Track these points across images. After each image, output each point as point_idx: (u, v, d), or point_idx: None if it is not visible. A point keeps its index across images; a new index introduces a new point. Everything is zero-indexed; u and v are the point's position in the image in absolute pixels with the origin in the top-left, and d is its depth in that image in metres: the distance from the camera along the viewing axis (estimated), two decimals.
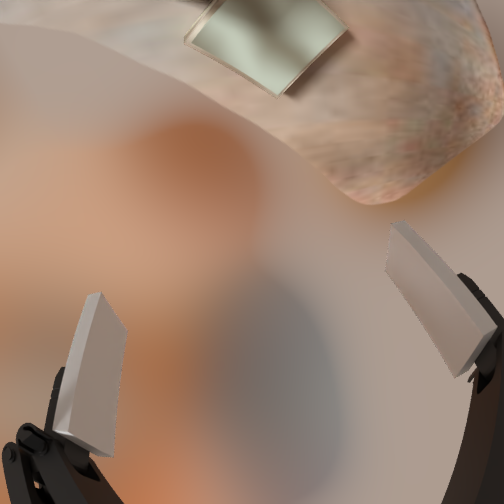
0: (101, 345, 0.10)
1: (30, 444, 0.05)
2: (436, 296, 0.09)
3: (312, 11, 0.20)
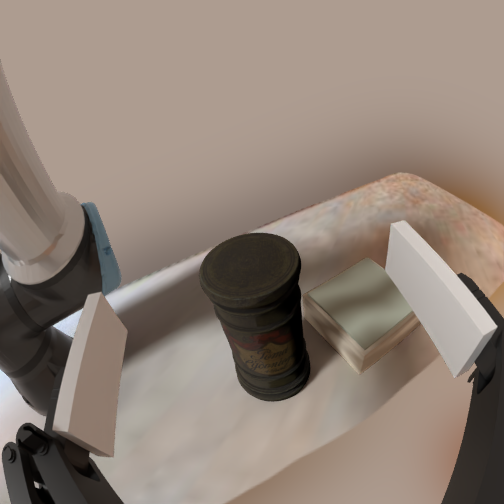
0: (101, 345, 0.10)
1: (30, 444, 0.05)
2: (436, 296, 0.09)
3: (353, 273, 0.38)
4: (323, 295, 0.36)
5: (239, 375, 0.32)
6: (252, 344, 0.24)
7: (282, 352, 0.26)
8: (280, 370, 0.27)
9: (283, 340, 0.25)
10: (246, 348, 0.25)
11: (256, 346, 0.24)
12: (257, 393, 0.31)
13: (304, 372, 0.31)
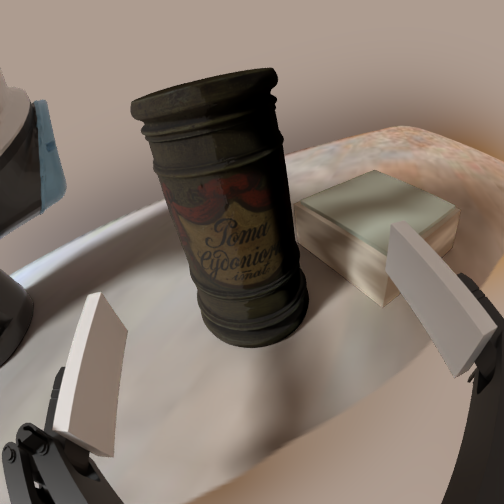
0: (101, 345, 0.10)
1: (30, 444, 0.05)
2: (436, 296, 0.09)
3: (359, 182, 0.29)
4: (321, 201, 0.27)
5: (201, 304, 0.22)
6: (204, 207, 0.15)
7: (258, 232, 0.16)
8: (258, 278, 0.18)
9: (257, 202, 0.15)
10: (196, 220, 0.15)
11: (211, 211, 0.15)
12: (227, 333, 0.21)
13: (299, 297, 0.21)
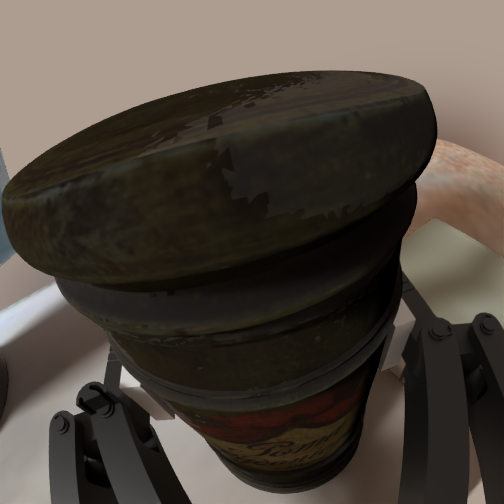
0: None
1: (93, 405, 0.07)
2: None
3: (424, 241, 0.20)
4: None
5: None
6: (227, 432, 0.06)
7: (328, 437, 0.07)
8: (311, 463, 0.09)
9: (340, 412, 0.06)
10: (210, 435, 0.06)
11: (243, 437, 0.06)
12: None
13: (355, 440, 0.12)
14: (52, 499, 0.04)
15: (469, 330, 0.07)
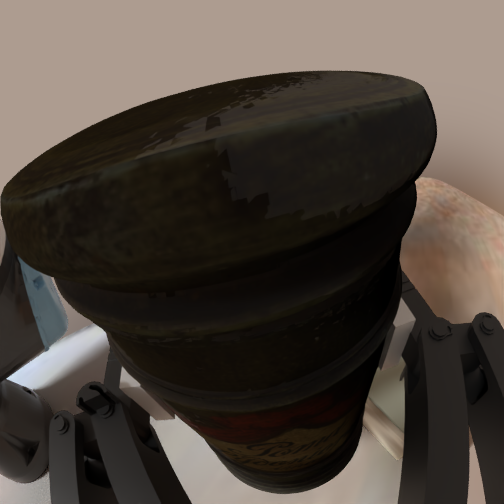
0: None
1: (93, 405, 0.07)
2: None
3: None
4: None
5: None
6: (227, 432, 0.06)
7: (327, 437, 0.07)
8: (311, 463, 0.09)
9: (339, 413, 0.06)
10: (210, 435, 0.06)
11: (242, 437, 0.06)
12: None
13: (355, 441, 0.12)
14: (52, 499, 0.04)
15: (469, 330, 0.07)
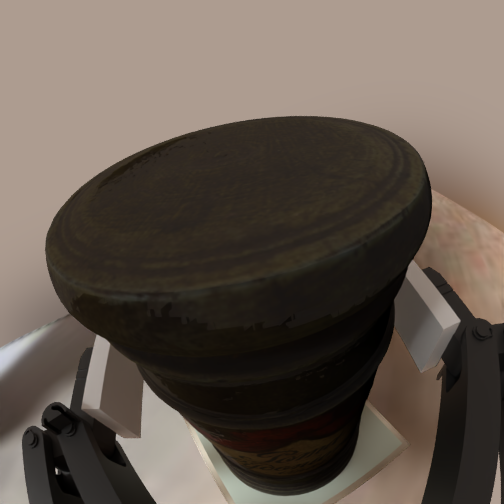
0: None
1: (57, 424, 0.06)
2: (400, 290, 0.10)
3: None
4: None
5: None
6: (242, 443, 0.07)
7: (327, 445, 0.08)
8: (311, 468, 0.10)
9: (337, 426, 0.07)
10: (225, 445, 0.07)
11: (255, 447, 0.07)
12: None
13: (352, 447, 0.13)
14: None
15: None
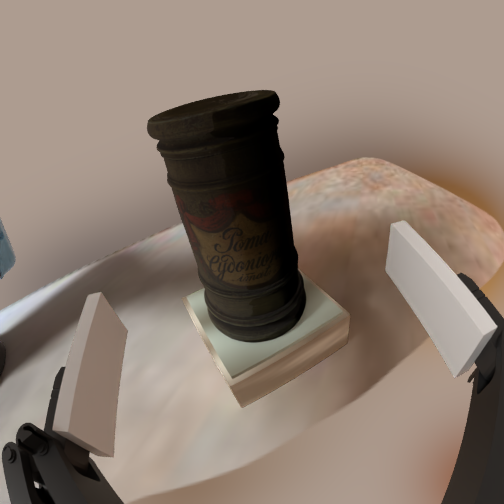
0: (101, 345, 0.10)
1: (30, 444, 0.05)
2: (436, 296, 0.09)
3: None
4: (202, 300, 0.29)
5: (208, 303, 0.24)
6: (214, 217, 0.17)
7: (261, 239, 0.18)
8: (260, 279, 0.20)
9: (260, 213, 0.17)
10: (207, 228, 0.18)
11: (220, 221, 0.17)
12: (232, 329, 0.23)
13: (297, 297, 0.23)
14: None
15: None
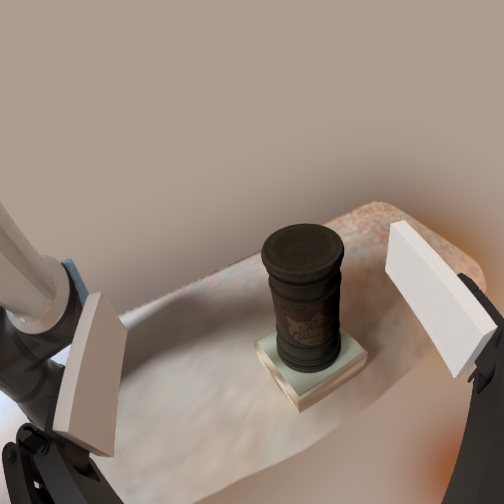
0: (101, 345, 0.10)
1: (30, 444, 0.05)
2: (436, 296, 0.09)
3: None
4: (270, 344, 0.41)
5: (281, 350, 0.37)
6: (303, 315, 0.30)
7: (326, 323, 0.31)
8: (321, 341, 0.32)
9: (328, 311, 0.30)
10: (297, 319, 0.30)
11: (306, 317, 0.30)
12: (297, 366, 0.36)
13: (338, 345, 0.36)
14: None
15: None
